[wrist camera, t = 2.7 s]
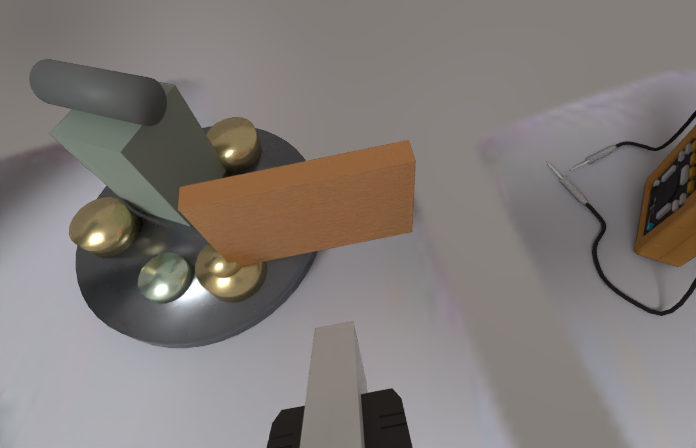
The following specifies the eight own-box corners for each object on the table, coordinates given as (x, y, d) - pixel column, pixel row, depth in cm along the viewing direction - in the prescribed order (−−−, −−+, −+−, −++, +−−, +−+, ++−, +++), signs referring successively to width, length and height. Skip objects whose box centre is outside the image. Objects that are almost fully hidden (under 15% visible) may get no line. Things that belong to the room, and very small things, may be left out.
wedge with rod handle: (123, 205, 33) (-1, 96, 23) (163, 153, 35) (67, 34, 25) (200, 229, 31) (101, 121, 20) (237, 171, 33) (164, 49, 23)
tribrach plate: (43, 299, 31) (-1, 281, 28) (177, 123, 40) (156, 93, 37) (254, 390, 26) (232, 381, 22) (357, 163, 35) (352, 132, 31)
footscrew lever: (207, 308, 27) (120, 246, 18) (208, 252, 29) (132, 174, 21) (416, 267, 26) (423, 185, 18) (401, 213, 29) (401, 119, 20)
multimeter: (556, 125, 34) (714, -202, 17) (689, 156, 31) (1045, -207, 14) (512, 265, 28) (687, -20, 11) (670, 321, 25) (1260, 43, 8)
